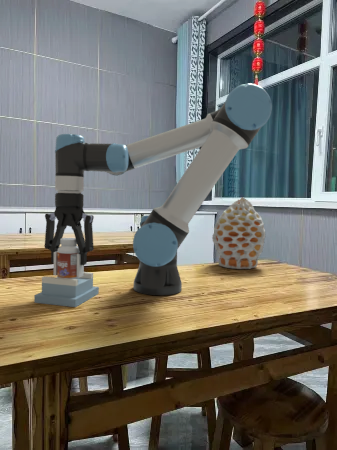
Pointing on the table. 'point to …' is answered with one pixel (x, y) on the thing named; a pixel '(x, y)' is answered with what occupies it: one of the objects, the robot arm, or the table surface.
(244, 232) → the sculpture
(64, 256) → the pill bottle
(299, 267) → the table surface
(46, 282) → the pedestal
